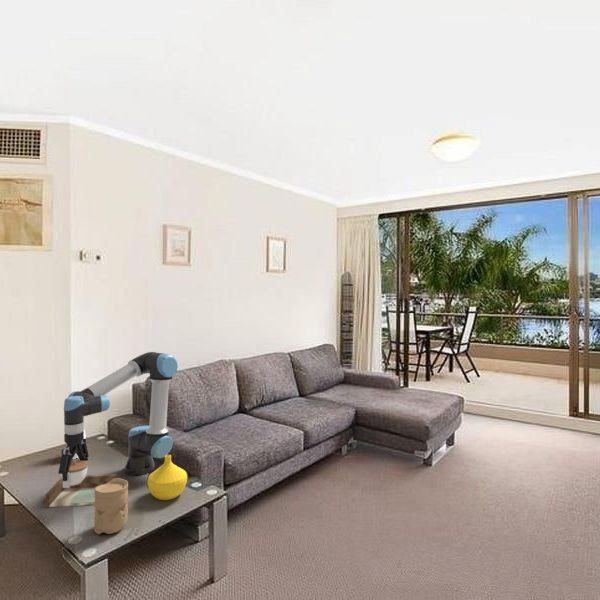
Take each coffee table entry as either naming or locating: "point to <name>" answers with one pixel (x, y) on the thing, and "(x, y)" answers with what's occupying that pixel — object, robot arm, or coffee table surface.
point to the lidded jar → (77, 472)
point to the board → (68, 498)
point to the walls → (86, 483)
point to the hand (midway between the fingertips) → (74, 481)
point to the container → (111, 506)
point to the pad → (85, 496)
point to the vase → (167, 480)
